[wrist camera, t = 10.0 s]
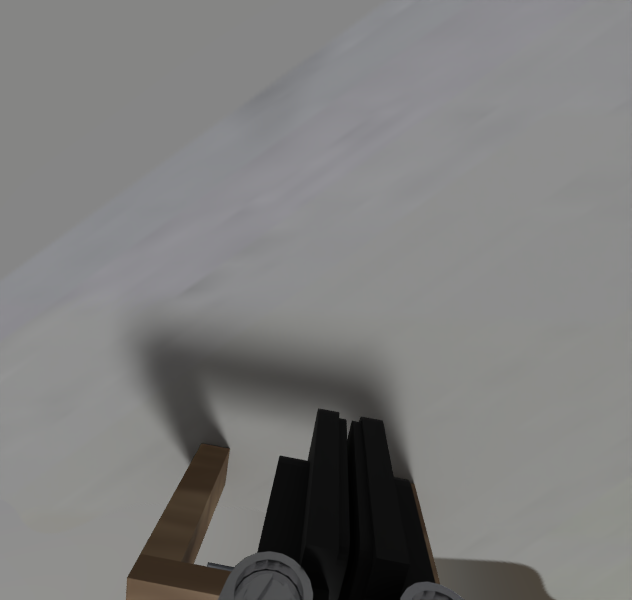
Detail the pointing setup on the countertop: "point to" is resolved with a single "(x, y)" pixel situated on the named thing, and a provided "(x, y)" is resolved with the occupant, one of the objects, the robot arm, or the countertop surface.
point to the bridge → (193, 537)
